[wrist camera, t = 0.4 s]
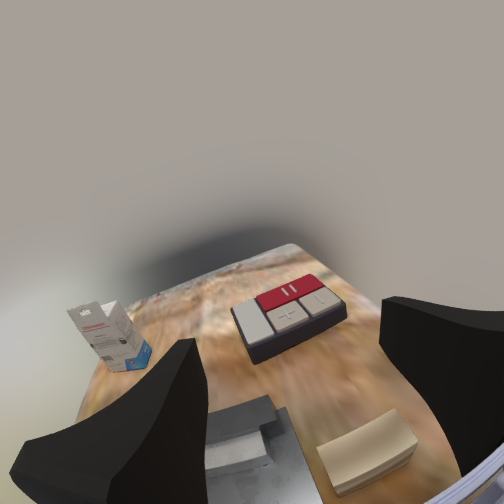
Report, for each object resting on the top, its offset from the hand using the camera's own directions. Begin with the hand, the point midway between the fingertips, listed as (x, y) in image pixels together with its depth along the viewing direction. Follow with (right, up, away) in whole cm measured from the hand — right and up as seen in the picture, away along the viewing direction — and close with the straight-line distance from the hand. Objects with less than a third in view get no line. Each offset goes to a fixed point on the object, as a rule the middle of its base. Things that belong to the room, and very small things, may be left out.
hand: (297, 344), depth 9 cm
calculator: (+4, -8, +32) cm, 33 cm away
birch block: (+9, -16, +8) cm, 20 cm away
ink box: (-24, -17, +34) cm, 45 cm away
